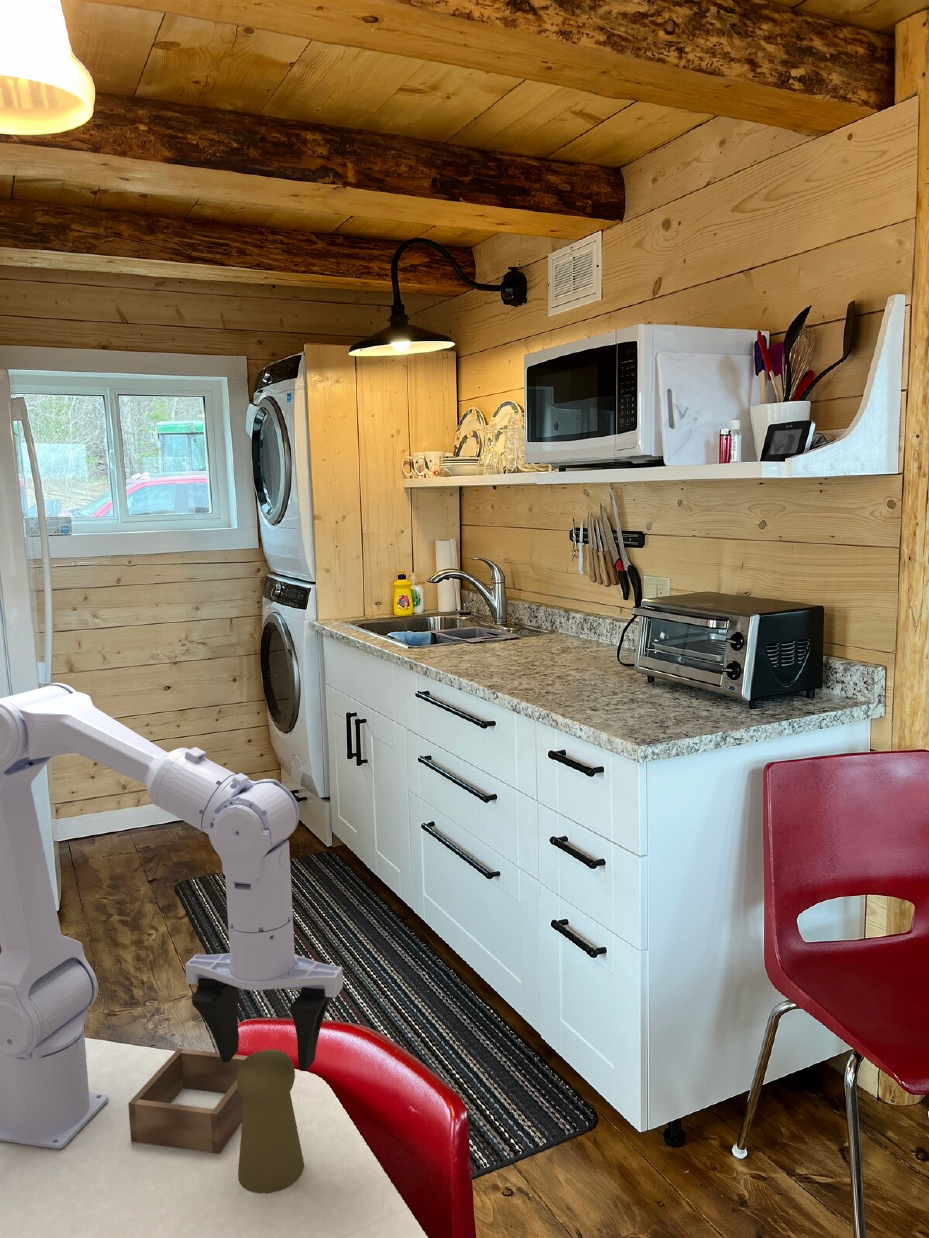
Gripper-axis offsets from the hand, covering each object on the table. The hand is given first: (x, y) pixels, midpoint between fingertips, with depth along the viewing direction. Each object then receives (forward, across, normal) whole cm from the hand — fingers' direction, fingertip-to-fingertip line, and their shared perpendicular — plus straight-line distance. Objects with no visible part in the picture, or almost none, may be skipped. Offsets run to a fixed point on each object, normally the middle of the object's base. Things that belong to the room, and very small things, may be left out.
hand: (268, 1060), depth 86 cm
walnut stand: (+10, +10, -5) cm, 16 cm away
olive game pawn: (+11, 0, +1) cm, 11 cm away
